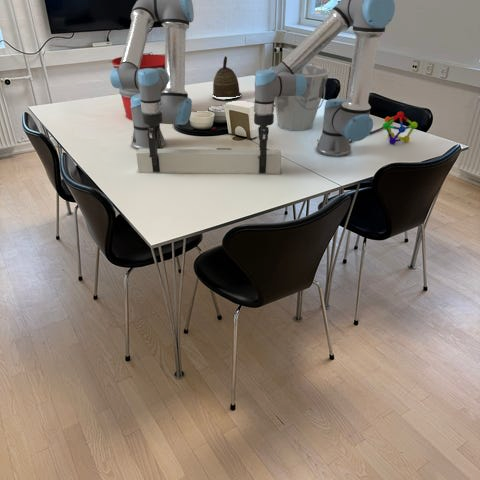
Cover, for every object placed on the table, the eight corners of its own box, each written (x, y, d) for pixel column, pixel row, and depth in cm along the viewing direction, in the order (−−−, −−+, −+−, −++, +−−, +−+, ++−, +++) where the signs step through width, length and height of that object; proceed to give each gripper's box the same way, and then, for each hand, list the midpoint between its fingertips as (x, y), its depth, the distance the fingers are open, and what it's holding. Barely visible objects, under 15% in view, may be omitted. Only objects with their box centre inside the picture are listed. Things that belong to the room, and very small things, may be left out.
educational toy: (377, 146, 209) (379, 114, 202) (384, 138, 219) (386, 107, 211) (411, 149, 202) (415, 116, 195) (417, 141, 212) (420, 109, 204)
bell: (227, 105, 294) (202, 96, 282) (238, 66, 289) (213, 55, 277) (243, 108, 280) (217, 98, 268) (255, 66, 275) (229, 55, 263)
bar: (138, 172, 180) (136, 153, 175) (141, 167, 184) (139, 148, 180) (280, 173, 179) (281, 154, 175) (279, 168, 184) (280, 149, 179)
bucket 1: (125, 105, 263) (118, 51, 247) (184, 106, 262) (180, 52, 246) (109, 123, 234) (99, 63, 218) (175, 124, 233) (170, 64, 217)
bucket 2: (296, 138, 215) (301, 78, 201) (255, 124, 234) (256, 68, 219) (335, 125, 232) (342, 70, 217) (294, 113, 251) (297, 61, 236)
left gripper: (157, 119, 161) (163, 178, 174) (165, 105, 177) (170, 160, 189) (137, 119, 162) (144, 177, 174) (146, 105, 177) (152, 160, 189)
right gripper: (275, 120, 161) (272, 179, 173) (272, 106, 177) (270, 161, 189) (254, 120, 161) (253, 178, 173) (254, 106, 177) (252, 161, 189)
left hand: (157, 168), depth 182 cm, fingers closed on bar, 5 cm apart
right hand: (262, 169), depth 181 cm, fingers closed on bar, 5 cm apart
